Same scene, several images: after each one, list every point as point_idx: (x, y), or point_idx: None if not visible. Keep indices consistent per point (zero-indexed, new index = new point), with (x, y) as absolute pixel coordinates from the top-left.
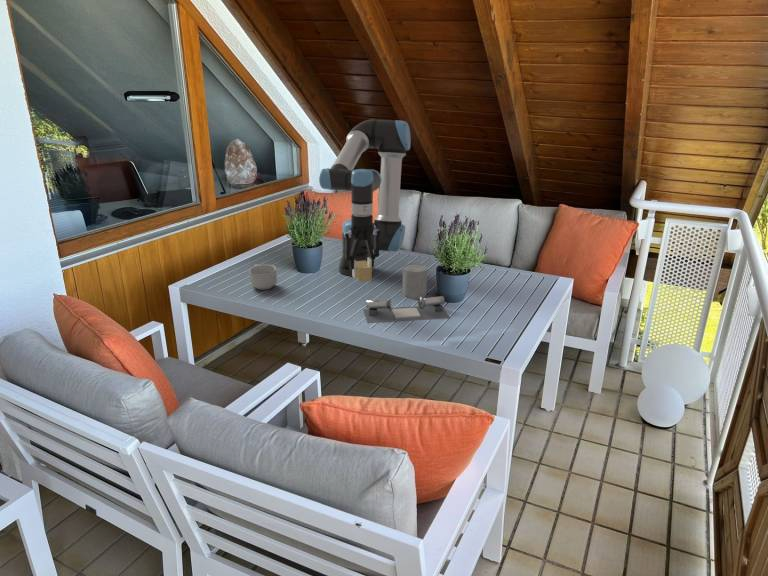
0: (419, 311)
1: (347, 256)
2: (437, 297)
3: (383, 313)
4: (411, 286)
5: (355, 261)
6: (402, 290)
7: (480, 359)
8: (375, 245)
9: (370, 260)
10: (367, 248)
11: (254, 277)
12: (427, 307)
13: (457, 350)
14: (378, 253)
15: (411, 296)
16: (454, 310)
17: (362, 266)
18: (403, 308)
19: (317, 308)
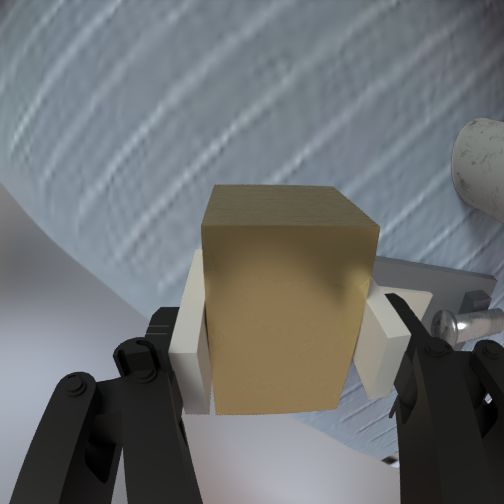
0: (427, 310)
1: (93, 456)
2: (490, 333)
3: None
4: (498, 217)
5: (197, 411)
6: (472, 145)
7: (377, 459)
8: (499, 488)
9: (374, 390)
10: (430, 456)
11: None
12: (462, 287)
13: (368, 444)
14: (476, 417)
15: (472, 203)
16: (500, 297)
17: (267, 387)
18: (396, 291)
19: (74, 149)
